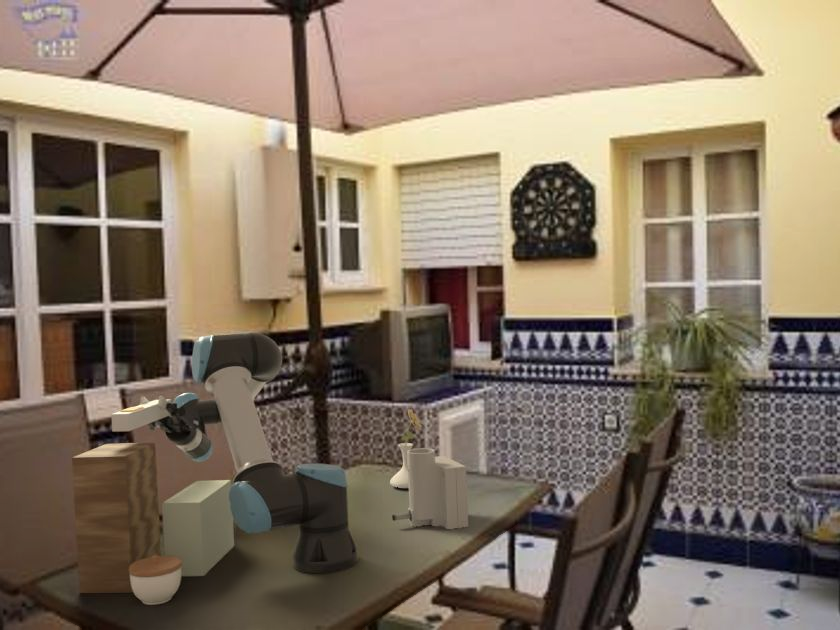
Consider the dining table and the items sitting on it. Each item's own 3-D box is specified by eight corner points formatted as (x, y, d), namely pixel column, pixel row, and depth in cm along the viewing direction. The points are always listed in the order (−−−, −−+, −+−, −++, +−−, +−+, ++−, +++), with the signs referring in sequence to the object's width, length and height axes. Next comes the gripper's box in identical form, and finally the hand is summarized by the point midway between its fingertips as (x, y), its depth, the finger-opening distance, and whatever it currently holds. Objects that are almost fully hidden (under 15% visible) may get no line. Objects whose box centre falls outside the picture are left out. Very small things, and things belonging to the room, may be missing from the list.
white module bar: (156, 414, 212) (156, 398, 212) (171, 414, 212) (170, 398, 212) (112, 431, 187) (111, 412, 187) (129, 431, 187) (128, 412, 187)
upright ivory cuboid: (200, 546, 210) (196, 480, 209) (234, 545, 209) (230, 480, 208) (165, 576, 188) (162, 503, 187) (203, 575, 187) (199, 502, 186)
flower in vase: (412, 492, 256) (408, 413, 256) (383, 489, 263) (379, 412, 262) (434, 483, 267) (431, 407, 267) (405, 480, 274) (402, 406, 273)
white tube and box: (469, 526, 217) (466, 452, 216) (403, 536, 210) (399, 459, 210) (446, 512, 232) (443, 442, 231) (384, 521, 226) (381, 449, 225)
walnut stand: (110, 568, 195) (104, 443, 194) (161, 567, 194) (155, 442, 193) (76, 593, 179) (69, 457, 178) (132, 592, 178) (124, 456, 177)
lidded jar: (153, 612, 166) (151, 567, 166) (119, 604, 172) (117, 559, 171) (194, 595, 175) (191, 551, 175) (160, 587, 181) (158, 545, 180)
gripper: (211, 445, 222) (181, 414, 202) (151, 447, 224) (115, 416, 203) (215, 419, 226) (185, 386, 205) (155, 421, 227) (120, 388, 207)
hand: (150, 401), depth 204 cm, fingers closed on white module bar, 4 cm apart
